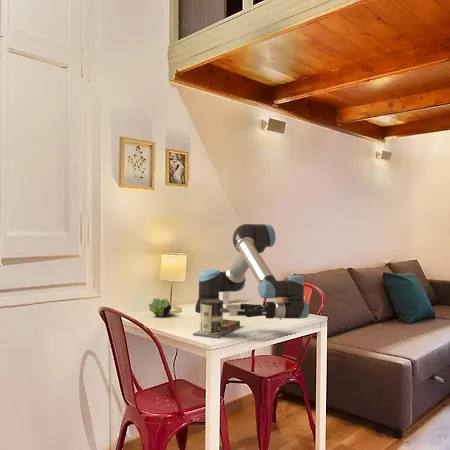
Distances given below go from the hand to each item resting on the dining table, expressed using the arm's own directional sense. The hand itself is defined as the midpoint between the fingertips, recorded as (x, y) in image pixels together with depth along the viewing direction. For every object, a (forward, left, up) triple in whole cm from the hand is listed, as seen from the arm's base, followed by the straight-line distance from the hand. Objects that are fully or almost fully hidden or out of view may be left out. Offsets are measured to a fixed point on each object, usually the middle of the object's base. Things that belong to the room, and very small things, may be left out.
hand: (227, 309), depth 203 cm
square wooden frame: (-8, +11, -11) cm, 17 cm away
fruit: (-47, +20, -11) cm, 52 cm away
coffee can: (-6, -3, -10) cm, 12 cm away
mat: (-6, -3, -11) cm, 13 cm away
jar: (-36, +75, -11) cm, 84 cm away
